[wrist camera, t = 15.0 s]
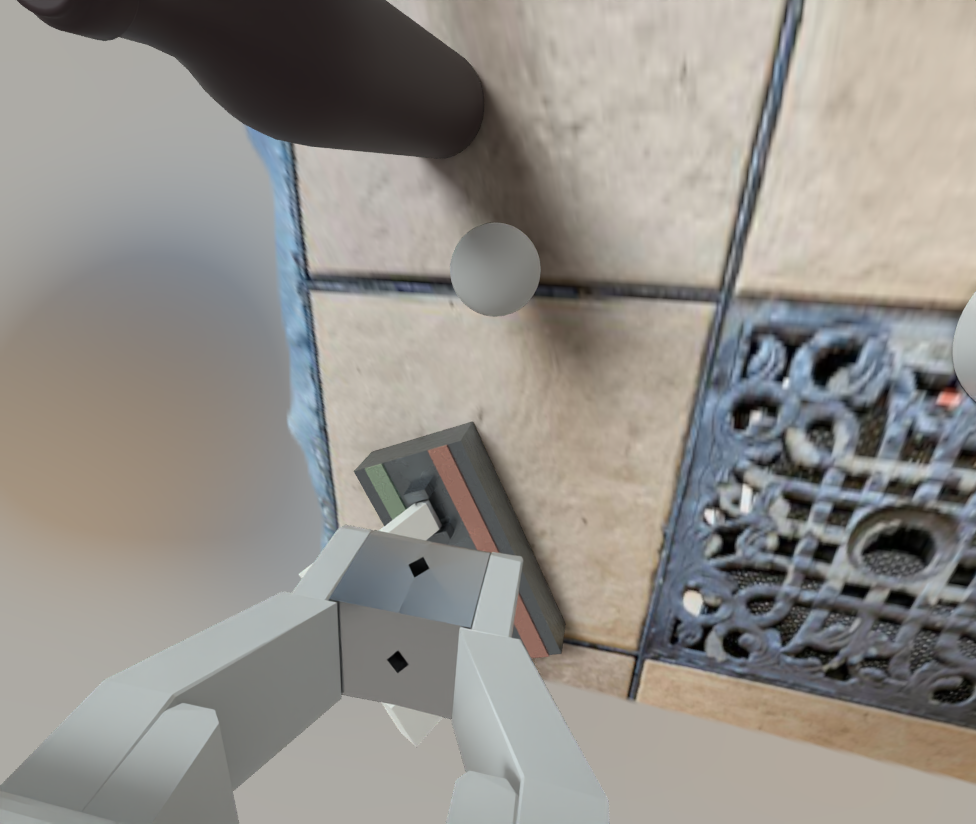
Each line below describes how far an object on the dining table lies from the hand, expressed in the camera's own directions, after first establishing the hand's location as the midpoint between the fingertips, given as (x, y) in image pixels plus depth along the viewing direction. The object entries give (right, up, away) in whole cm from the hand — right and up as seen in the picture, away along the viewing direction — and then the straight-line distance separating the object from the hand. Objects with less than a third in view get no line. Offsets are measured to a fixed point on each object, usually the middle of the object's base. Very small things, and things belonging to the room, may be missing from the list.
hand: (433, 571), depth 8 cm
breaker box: (-1, -11, +46) cm, 48 cm away
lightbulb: (+3, +16, +33) cm, 37 cm away
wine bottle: (-3, +26, +30) cm, 40 cm away
